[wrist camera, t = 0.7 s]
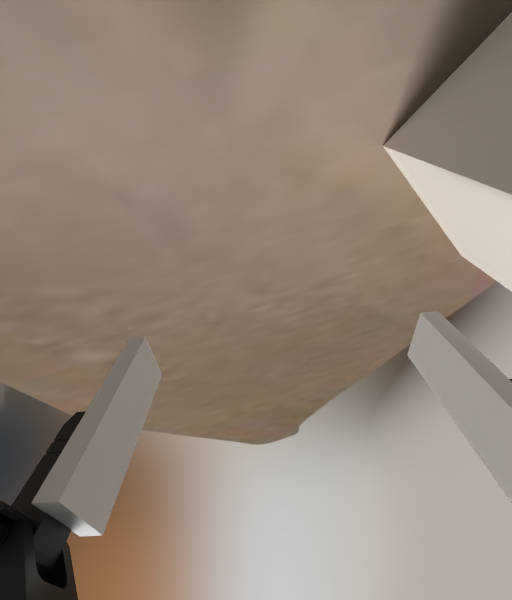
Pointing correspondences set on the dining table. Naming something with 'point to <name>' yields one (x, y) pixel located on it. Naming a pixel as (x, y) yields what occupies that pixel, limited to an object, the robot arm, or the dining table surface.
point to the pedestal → (467, 155)
